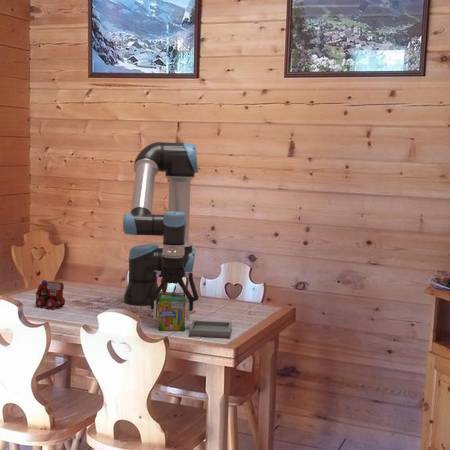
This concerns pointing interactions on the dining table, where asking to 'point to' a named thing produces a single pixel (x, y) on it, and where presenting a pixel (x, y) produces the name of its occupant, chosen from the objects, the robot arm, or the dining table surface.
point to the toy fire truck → (50, 294)
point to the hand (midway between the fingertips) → (171, 319)
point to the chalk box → (172, 311)
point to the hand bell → (162, 292)
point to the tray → (210, 329)
